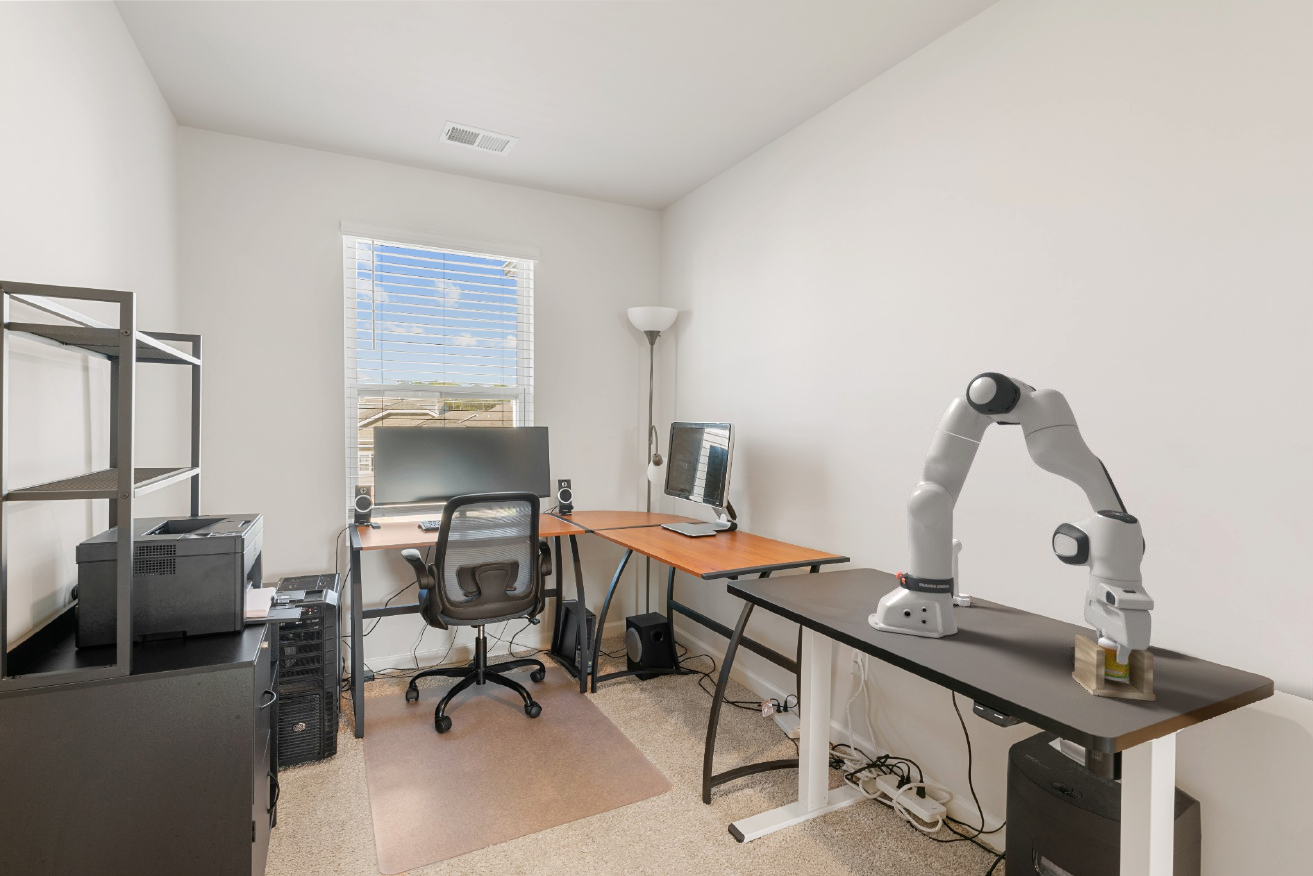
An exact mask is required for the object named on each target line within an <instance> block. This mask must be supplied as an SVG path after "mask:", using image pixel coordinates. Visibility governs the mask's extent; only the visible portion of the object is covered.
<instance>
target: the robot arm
mask: <svg viewBox="0 0 1313 876" xmlns="http://www.w3.org/2000/svg"><path fill="white" fill-rule="evenodd" d="M942 415H943V416H942V417H941V420H940V422H939V423H938V426H937V429H936V431H935V434H934V435H933V439H932V441H931V443H930V446H929V449H928V451H927V453H926V456H925V458H924V459H925V460H924V462H923V464H922V465H923V466H922V468H921V471H920V474H919V477H918V480H917V483H916V485H915V487H914V489H913V491H912V492H911V493H910V494H909V495H908V499H907V501H906V502H907V505H906V506H907V507H906V509H907V511H906V512H907V513H906V514H907V517H906V518H907V542H908V545H907V546H908V547H907V548H908V549H907V552H908V555H907V572H905V573H903V572H901V571H898V572H897V573H896V575H895V576H896V579H897V580H898V581H899V586H898V587H897V588H895V589H893V590H891V591H890V592H889V593H887V594H885V595H883V596H882V597H881V598H880V600H879V602H878V604H877V608H876V613H871V614H870V615H868V620H867V622H868V624H869V625H870V626H871V627H872V628H873V629H876V630H878V631H884V632H888V633H899V634H905V635H906V634H907V635H913V636H920V637H927V638H928V637H929V638H936V639H937V638H938V639H939V638H942V637H944V636H950V635H954V634H956V633H958V632H959V631H958V626H957V623H956V617H955V613H954V604H953V600H952V599H953V596H954V578H953V577H952V562H953V539H954V538H953V537H954V535H953V534H954V530H953V529H954V526H953V525H954V509H955V508H956V507H955V506H956V504H957V501H958V499H959V497H960V494H961V491H962V489H963V487H964V484H965V482H966V480H967V477H968V474H969V472H970V471H971V470H970V469H971V468H972V467H971V466H972V464H973V462H974V460H975V457H976V454H977V452H978V449H979V447H980V445H981V442H982V439H983V436H984V434H985V432H986V430H987V428H988V427H990V425H992V424H993V423H996V424H997V425H998V426H1017V425H1019V426H1021V429H1022V433H1023V436H1024V441H1025V444H1026V445H1025V446H1026V449H1027V452H1028V453H1029V457H1030V458H1031V460H1032V461H1033V462H1034V463H1035V465H1036V466H1038V467H1040V468H1041V469H1043V470H1044V471H1047V472H1048V473H1051V474H1053V475H1056V476H1059V477H1062V478H1065V479H1067V480H1069V481H1071V482H1072V483H1075V484H1076V485H1078V486H1079V487H1080V488H1081V489H1082V490H1083V492H1084V493H1085V494H1086V498H1087V500H1088V501H1089V504H1090V506H1091V509H1092V510H1093V512H1094V513H1093V514H1092V515H1091V516H1088V517H1086V518H1083V519H1080V520H1075V521H1070V522H1063V523H1061V524H1060V525H1058V526H1057V527H1056V529H1055V530H1054V531H1053V534H1052V538H1051V539H1052V540H1051V541H1052V542H1051V544H1052V549H1053V553H1054V554H1055V556H1056V557H1057V558H1058V559H1059V560H1060V561H1061V562H1062V563H1064V564H1065V565H1068V566H1069V565H1070V566H1073V567H1074V566H1075V567H1089V580H1088V583H1089V584H1088V585H1089V587H1088V590H1087V591H1086V594H1085V597H1084V606H1083V607H1084V608H1083V617H1084V622H1086V623H1087V624H1089V625H1091V626H1092V627H1094V628H1096V631H1095V632H1096V636H1097V640H1098V641H1099V639H1100V638H1102V637H1104V636H1103V635H1102V630H1103V629H1104V630H1105V632H1106V635H1108V636H1109V637H1111V638H1112V639H1114V640H1115V641H1117V646H1118V650H1117V653H1115V658H1114V660H1115V661H1116V662H1117V663H1119V664H1125V665H1126V664H1128V656H1129V654H1130V652H1131V650H1132V649H1136V650H1147V649H1148V647H1149V646H1150V643H1151V636H1152V635H1151V634H1152V616H1151V612H1150V611H1153V610H1154V608H1155V602H1154V599H1153V598H1152V597H1151V596H1150V595H1149V594H1148V592H1147V591H1146V590H1145V587H1143V576H1142V572H1141V564H1142V561H1143V557H1144V556H1145V552H1146V542H1145V538H1144V534H1143V530H1142V526H1141V524H1140V521H1139V519H1138V518H1137V517H1136V516H1135V515H1132V514H1129V512H1128V510H1127V508H1126V506H1125V504H1124V502H1123V499H1122V498H1121V495H1120V494H1119V492H1118V489H1117V487H1116V485H1115V484H1114V481H1113V479H1112V477H1111V475H1110V473H1109V471H1108V470H1107V467H1106V466H1105V464H1104V462H1103V461H1102V460H1101V459H1100V458H1099V457H1098V456H1097V455H1095V454H1094V453H1093V452H1092V450H1091V449H1090V448H1089V446H1088V445H1087V443H1086V441H1085V440H1084V437H1082V434H1081V431H1080V428H1079V425H1078V422H1077V420H1076V418H1075V415H1074V412H1073V410H1072V408H1071V406H1070V404H1069V403H1068V401H1067V398H1066V397H1065V395H1064V394H1062V393H1061V392H1060V391H1058V390H1056V389H1053V388H1042V389H1041V388H1040V389H1036V388H1035V387H1033V386H1031V385H1029V384H1027V383H1025V382H1024V381H1022V380H1021V379H1018V378H1016V377H1010V376H1008V375H1005V374H1002V373H999V372H992V371H989V372H983V373H980V374H978V375H976V376H975V377H973V379H971V381H970V382H969V383H968V385H967V388H966V391H965V394H962V395H957V396H956V397H954V398H953V399H952V400H951V402H950V403H949V405H948V406H947V408H946V410H945V411H944V413H943V414H942Z"/></svg>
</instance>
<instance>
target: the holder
mask: <svg viewBox="0 0 1313 876" xmlns="http://www.w3.org/2000/svg"><path fill="white" fill-rule="evenodd" d="M1074 639H1075V641H1074V642H1075V643H1074V645H1075V646H1074V647H1075V666H1074V671H1072V672H1071V677H1072V679H1073V680H1075V681H1076V682H1077V683H1078V684H1079V683H1080V684H1079V685H1081V686H1082V687H1083V688H1084V689H1085V690H1086V691H1087V690H1088V691H1087V692H1088V693H1090V695H1092V696H1098V695H1099V697H1108V698H1110V697H1111V698H1121V699H1131V700H1138V701H1139V700H1140V701H1141V700H1143V701H1148V702H1149V701H1150V702H1156V694H1155V693H1154V692H1153V689H1154V688H1153V687H1154V654H1155V653H1152V652H1151V651H1149V650H1147V649H1146V650H1136V649H1132V650H1131V652H1130V676H1129V680H1128V681H1115V680H1110V679H1106V678H1104V670H1105V650H1104V649H1102V648H1101V647H1100V646H1098V643H1097V644H1096V643H1095V642H1094V641H1092V640H1091V639H1090V638H1088V637H1087V636H1085V635H1083V634H1075V638H1074Z"/></svg>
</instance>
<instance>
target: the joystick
mask: <svg viewBox="0 0 1313 876" xmlns="http://www.w3.org/2000/svg"><path fill="white" fill-rule="evenodd" d="M962 549H963V545H962V542H961V541H960V540H959V539H956V538H953V562H952V577H953V578H954V596H953V599H952V600H953V605H957V604H959V605H963V606H968V607H970V606H971V597H970V596H971V595H970V594H965V593H961V592H959V591H960V590H959V589H960V587H959V586H960V584H959V583H960V582H959V553H960V552H961V551H962Z"/></svg>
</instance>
